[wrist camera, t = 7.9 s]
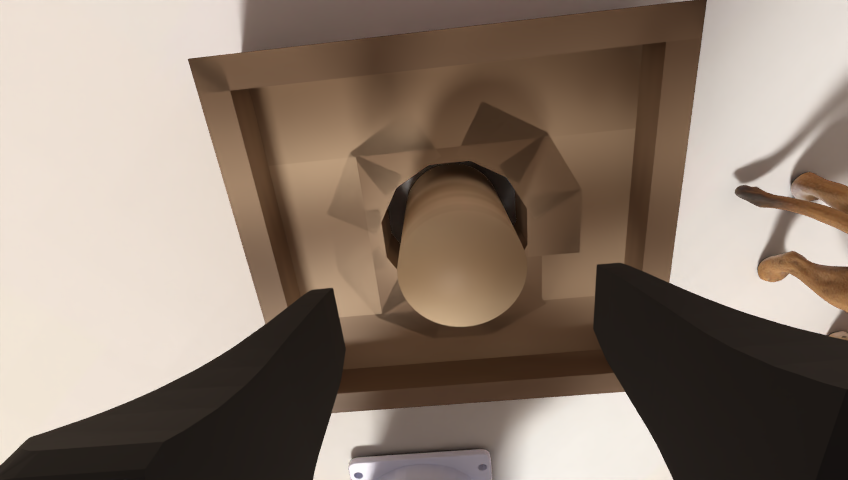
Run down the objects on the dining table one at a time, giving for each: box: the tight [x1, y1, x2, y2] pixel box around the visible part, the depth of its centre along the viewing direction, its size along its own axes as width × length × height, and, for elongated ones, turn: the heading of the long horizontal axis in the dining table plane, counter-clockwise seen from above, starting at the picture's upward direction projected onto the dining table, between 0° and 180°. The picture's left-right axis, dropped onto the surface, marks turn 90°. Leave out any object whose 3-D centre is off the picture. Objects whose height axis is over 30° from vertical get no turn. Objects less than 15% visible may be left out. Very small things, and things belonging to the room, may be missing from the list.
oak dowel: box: [397, 163, 527, 327], centre depth 16 cm, size 4×4×6 cm
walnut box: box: [188, 0, 707, 413], centre depth 17 cm, size 14×15×4 cm
